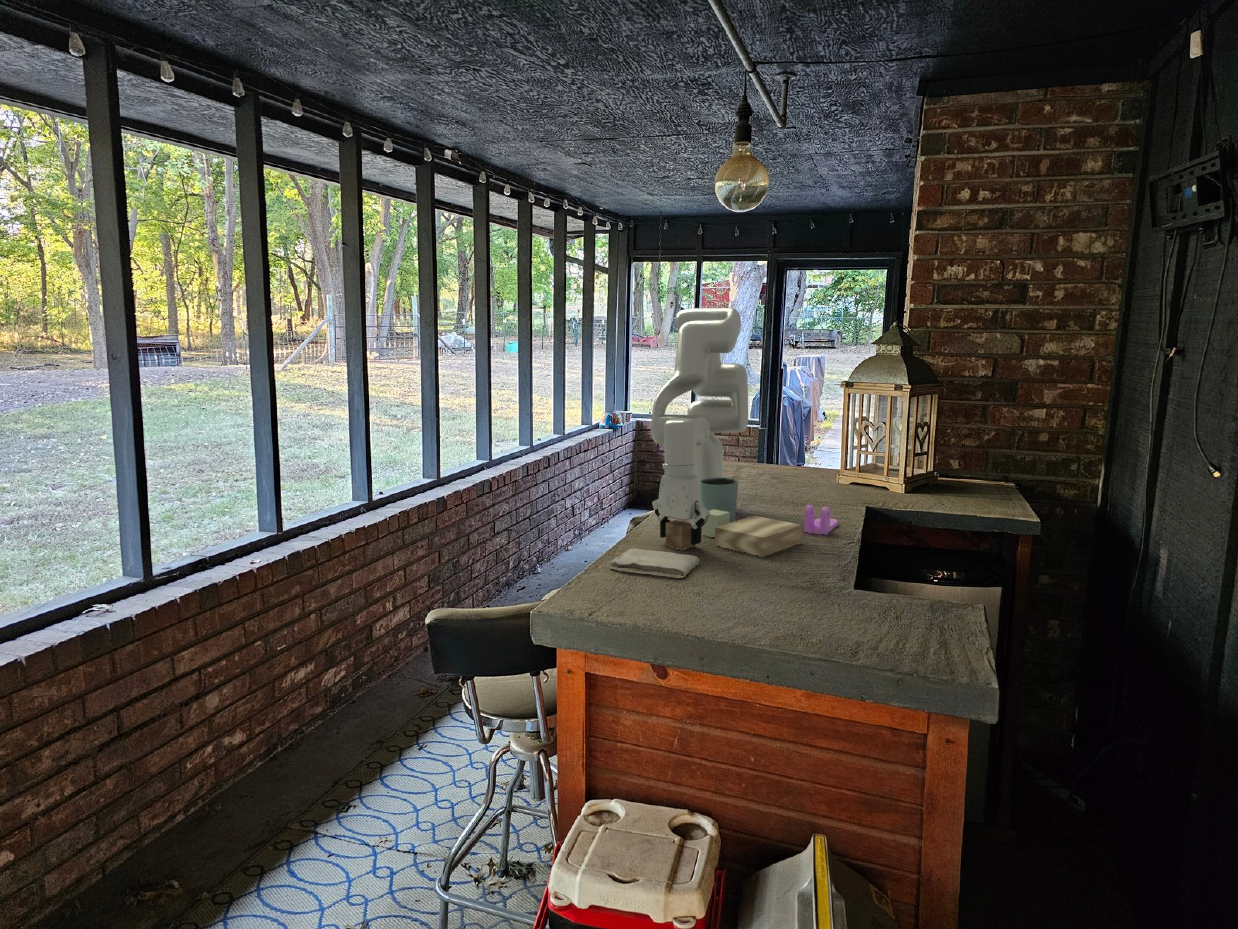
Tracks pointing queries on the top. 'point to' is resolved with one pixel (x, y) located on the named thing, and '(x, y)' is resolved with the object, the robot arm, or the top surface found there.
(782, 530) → the birch block
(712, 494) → the teal cylinder
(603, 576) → the top surface
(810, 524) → the bracket
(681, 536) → the walnut cube
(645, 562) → the washcloth
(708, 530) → the sage cube
